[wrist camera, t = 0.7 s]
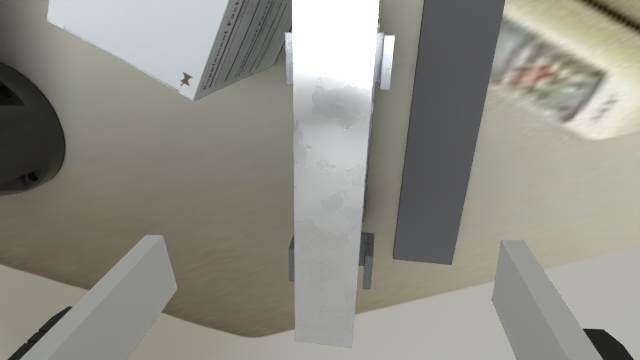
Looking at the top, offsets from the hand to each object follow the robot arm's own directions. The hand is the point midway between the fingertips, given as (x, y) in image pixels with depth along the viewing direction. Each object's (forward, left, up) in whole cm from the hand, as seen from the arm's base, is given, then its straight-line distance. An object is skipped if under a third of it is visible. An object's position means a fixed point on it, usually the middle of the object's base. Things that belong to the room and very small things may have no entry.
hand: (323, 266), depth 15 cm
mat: (+8, -3, -24) cm, 26 cm away
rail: (-1, -2, -15) cm, 16 cm away
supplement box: (-10, +10, -25) cm, 29 cm away
